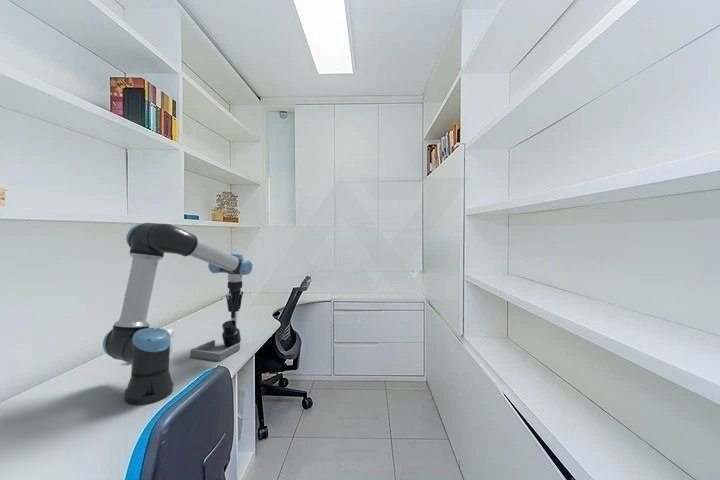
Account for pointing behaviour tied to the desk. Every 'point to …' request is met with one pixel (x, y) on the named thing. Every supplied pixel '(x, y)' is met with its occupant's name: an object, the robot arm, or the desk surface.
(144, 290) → the robot arm
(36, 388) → the desk surface
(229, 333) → the ink bottle
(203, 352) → the tray
